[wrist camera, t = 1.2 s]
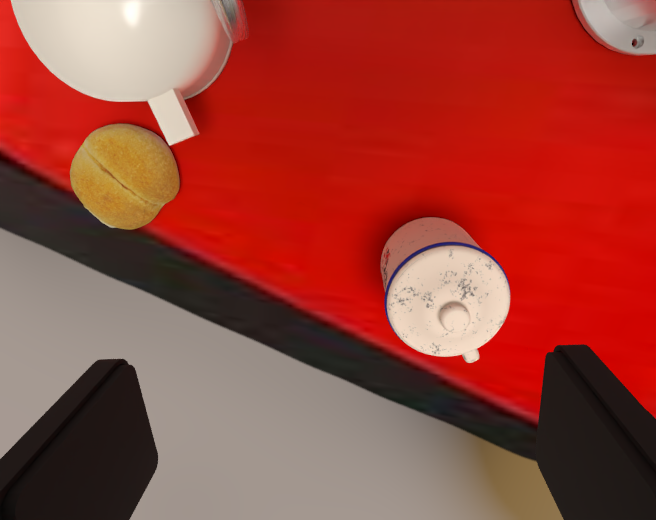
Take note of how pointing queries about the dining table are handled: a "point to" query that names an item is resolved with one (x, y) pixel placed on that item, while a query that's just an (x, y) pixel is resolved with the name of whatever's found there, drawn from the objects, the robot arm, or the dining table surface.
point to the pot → (131, 51)
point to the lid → (232, 18)
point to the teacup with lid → (442, 289)
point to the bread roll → (124, 175)
